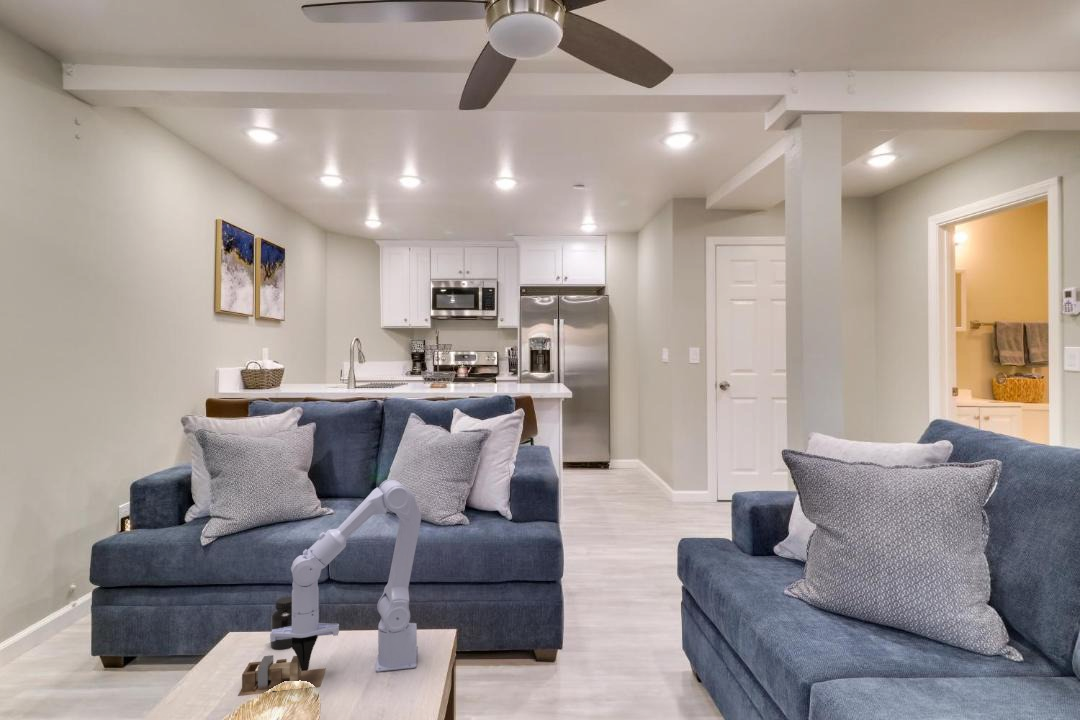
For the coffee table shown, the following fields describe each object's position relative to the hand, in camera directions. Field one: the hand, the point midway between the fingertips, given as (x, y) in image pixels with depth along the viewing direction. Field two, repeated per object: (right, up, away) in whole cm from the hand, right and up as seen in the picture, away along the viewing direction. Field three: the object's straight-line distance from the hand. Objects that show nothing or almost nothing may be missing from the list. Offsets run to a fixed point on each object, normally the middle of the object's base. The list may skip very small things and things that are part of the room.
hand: (305, 668), depth 129 cm
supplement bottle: (-12, -4, +17) cm, 21 cm away
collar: (-8, -2, -2) cm, 9 cm away
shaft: (-6, -2, -1) cm, 6 cm away
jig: (-5, -3, -1) cm, 6 cm away
